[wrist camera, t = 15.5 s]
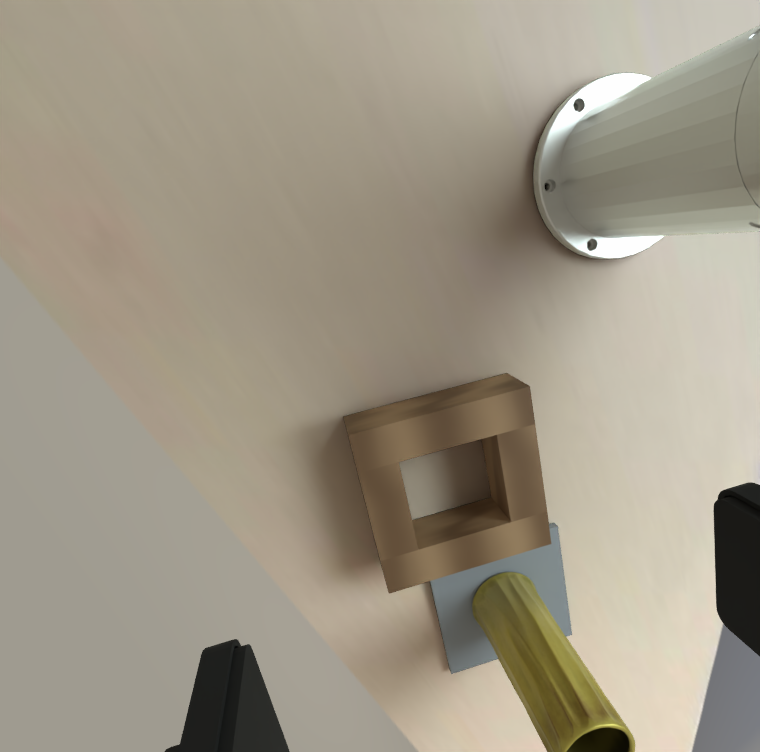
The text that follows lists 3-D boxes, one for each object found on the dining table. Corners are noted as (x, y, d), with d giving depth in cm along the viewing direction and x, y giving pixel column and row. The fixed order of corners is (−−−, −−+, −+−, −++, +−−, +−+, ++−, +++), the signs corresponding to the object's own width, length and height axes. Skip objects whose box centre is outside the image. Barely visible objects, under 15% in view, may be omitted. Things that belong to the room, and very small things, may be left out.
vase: (483, 639, 44) (567, 811, 31) (461, 589, 43) (539, 748, 29) (543, 610, 45) (652, 767, 31) (523, 559, 43) (630, 702, 29)
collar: (506, 373, 39) (529, 386, 35) (528, 517, 43) (551, 543, 39) (343, 416, 38) (348, 435, 34) (380, 561, 41) (388, 593, 38)
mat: (554, 522, 43) (557, 526, 43) (568, 629, 47) (572, 634, 46) (425, 561, 42) (427, 565, 41) (449, 668, 45) (451, 673, 45)
